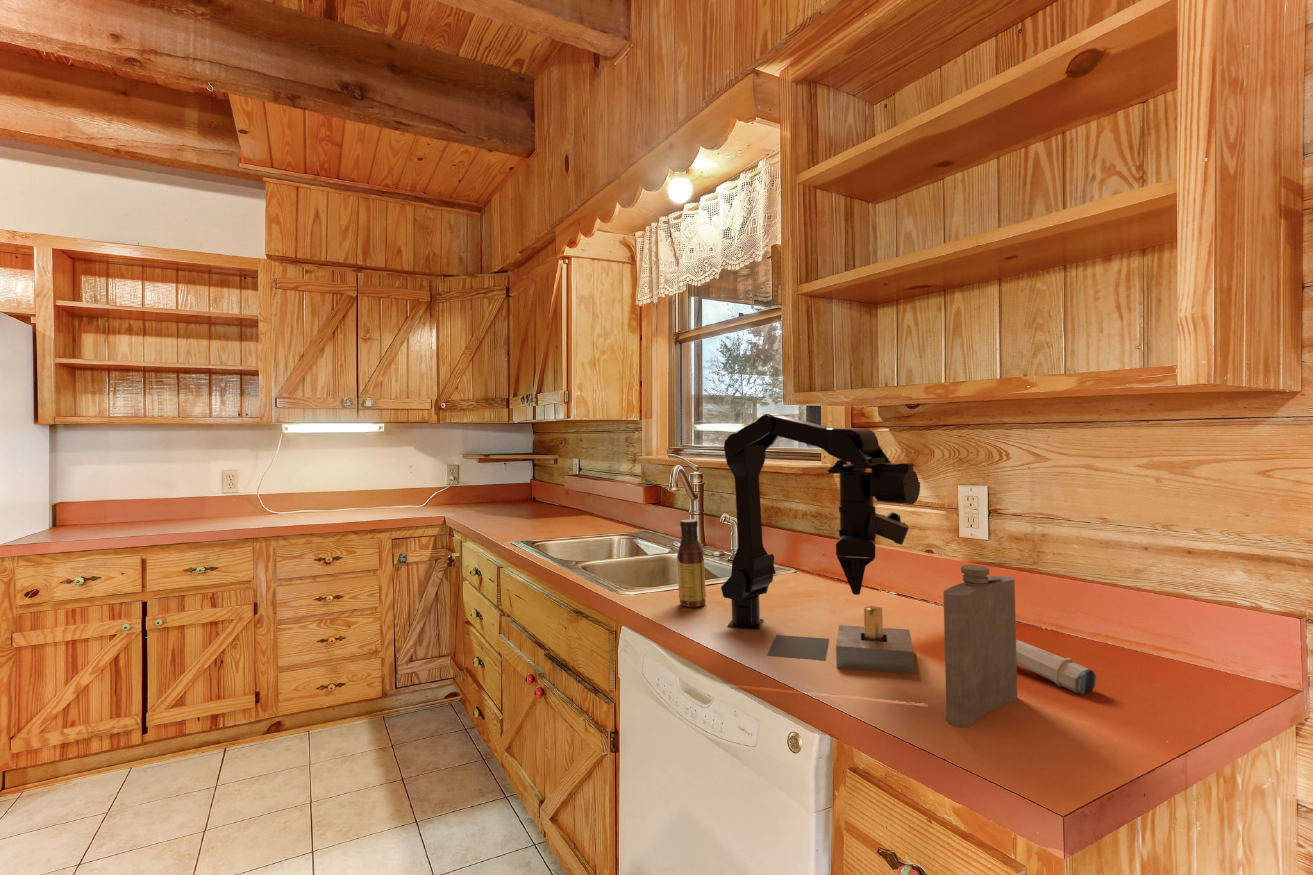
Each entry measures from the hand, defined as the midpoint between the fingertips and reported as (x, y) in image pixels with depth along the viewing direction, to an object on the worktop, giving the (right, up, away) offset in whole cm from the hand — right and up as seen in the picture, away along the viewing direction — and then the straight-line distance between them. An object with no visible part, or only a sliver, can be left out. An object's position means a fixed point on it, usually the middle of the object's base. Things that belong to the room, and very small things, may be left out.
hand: (857, 587), depth 113 cm
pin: (+2, -12, -3) cm, 12 cm away
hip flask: (+10, -12, -23) cm, 28 cm away
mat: (-9, -12, +4) cm, 16 cm away
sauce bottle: (-27, -13, +36) cm, 47 cm away
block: (+2, -12, -3) cm, 12 cm away
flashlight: (+23, -12, -8) cm, 27 cm away
